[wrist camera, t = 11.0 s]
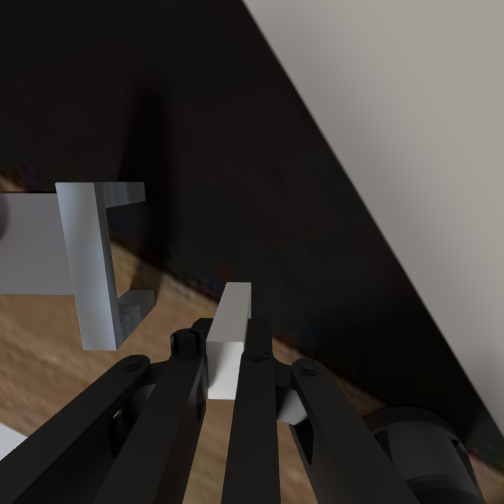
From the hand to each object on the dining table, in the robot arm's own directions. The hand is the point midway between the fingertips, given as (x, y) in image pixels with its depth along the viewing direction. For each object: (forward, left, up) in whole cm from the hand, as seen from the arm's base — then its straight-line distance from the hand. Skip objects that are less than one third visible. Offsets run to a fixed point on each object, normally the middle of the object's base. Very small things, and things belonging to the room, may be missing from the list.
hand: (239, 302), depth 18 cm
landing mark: (+27, 0, -14) cm, 31 cm away
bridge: (+13, 0, -14) cm, 19 cm away
